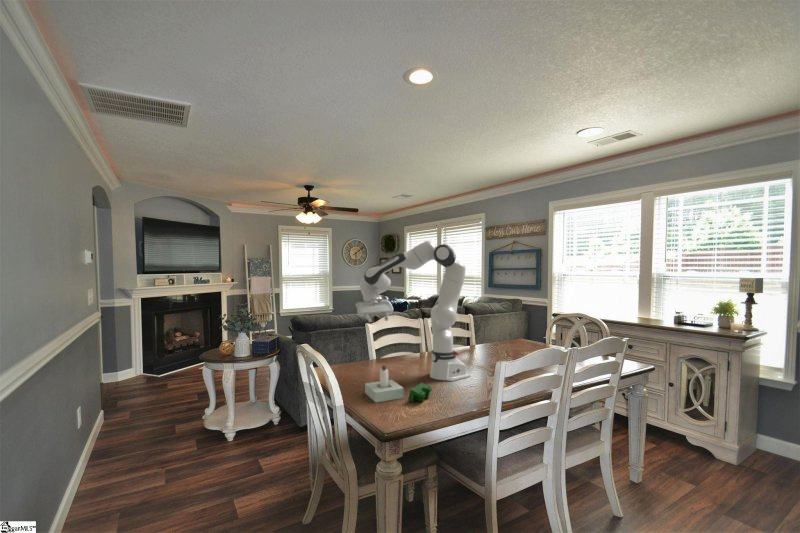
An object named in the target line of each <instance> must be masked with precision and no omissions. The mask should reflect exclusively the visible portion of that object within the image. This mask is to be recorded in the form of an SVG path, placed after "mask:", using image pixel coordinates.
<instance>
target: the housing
mask: <svg viewBox="0 0 800 533" xmlns="http://www.w3.org/2000/svg"><path fill="white" fill-rule="evenodd" d="M364 393H365V394H366V395H367V397H368V398H370V399H371V400H372V401H373V402H374V403H376V404H377V403H380V402H381V403H382V402H388V401H393V400H399V399H400V400H401V399H404V398H405V389H404V387H403V386H402V385H400V384H399V383H397V382H396V381H395V380H394V379H388V388H381V389H380V380H379V381H371V382H365V383H364Z"/></svg>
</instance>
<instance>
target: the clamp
mask: <svg viewBox="0 0 800 533" xmlns="http://www.w3.org/2000/svg"><path fill="white" fill-rule="evenodd" d="M432 390H433V387H432V386H431V385H428V384H426V383H423V382H421V383H419V384H417V385H416V386H414V387H412V388H410V390H409V394H408V401H410V402H411V403H414V402H415V401H419V402H420V403H424V400H425V399H426V400H427V399H428V400H429V398H430V393H431V392H432Z"/></svg>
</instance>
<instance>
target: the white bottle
mask: <svg viewBox="0 0 800 533" xmlns="http://www.w3.org/2000/svg"><path fill="white" fill-rule="evenodd" d="M381 366H382V368H380V369H379V381H380V389H381V388H388V380H389V369H388V368H386V367H387V365H385V364H382V365H381Z"/></svg>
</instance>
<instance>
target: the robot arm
mask: <svg viewBox="0 0 800 533" xmlns="http://www.w3.org/2000/svg"><path fill="white" fill-rule="evenodd" d="M433 260H434V261H436V263H437V264H439V265H440V266H443V268H444V269H445V270H444V274H443V279H442V281H441V286H440V287H439V291H438V300H437V304H435V305H434V306H433V307H432V308H431V310H430V320H431V322H430V324H431V331H432V332H431V333H432V350H431V368H430V374H429V377H430V378H431V379H432V380H433V379H434V380H437V381H448V382H455V381H458V380H462V379H466V378H470V377H471V373H470V372H469V371H467V366H466V364H465V363H464V362H463V361H462V360H460V359H459V358H458V357H456V356H460V351H455V350H454V335H453V329H452V326H454V325H455V323H456V321H457V313H458V305H459V299H460V296H461V292H462V288H463V285H464V280H465V277H466V276H465V275H466V270H467V269H466V265H465V264H464V263H463V262H460V261H458V260H457V256H456V251H455V250H454V249H453V248H452V247H451V246H450V245H448V244H444V243H443V244H442V243H441V244H439V245H438V246H436V244H435V243H434V242H432V241H431V240H426V241H423V242H422V243H419V244H418V245H415V246H414V247H413V248H411V249H410V250H408V251H406V252H402V253H397V254H394V255H392V256H391V257H389V258H386V259H385V260H384V261H382V262H380V263H378V264H376V265H372V266H370V267H368V268H367V269H365V272H364V273H363V274H364V275H363V277H362V278H361V279H360V281H359V289H360V292H361V295H362V297H363V298H362V299H363V300H362V301H357V302H356V303H354V305H355V308H356V311H357V312H356V313H357V316H358V317H360V318H361V317H362V318H363V317H365V319H366V320H367V321H368V323H373V319H372V317H376V316H377V317H378V316H384V322H385V321H386V322H388V321H389V316H390V315H392V314H393V313H394V307H393V304H392V302H390V301H389V297H388V296H385V295H381V294H383V293H386V292H387V291H389V289H391V285H392V280H391V279H390V278H389V277H388V276H387V275H386V274H385V273H388V272H389V271H392V270H393V269H395V268H398V267H399V268H400V267H401V268H405V269H408V270H413V271H414V270H418V269H419V268H421V267H422V266H425V265H426V264H427V263H429V262H430V261H433Z"/></svg>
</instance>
